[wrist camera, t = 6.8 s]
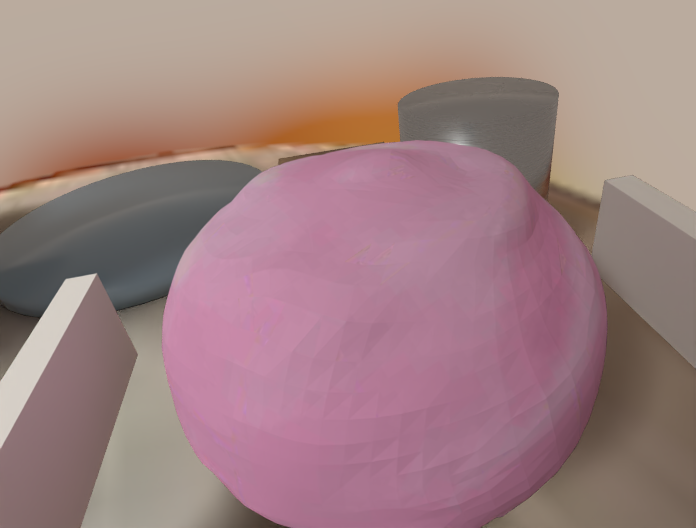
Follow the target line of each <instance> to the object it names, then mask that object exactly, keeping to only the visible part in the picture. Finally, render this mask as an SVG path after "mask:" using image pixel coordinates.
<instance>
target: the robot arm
mask: <svg viewBox="0 0 696 528" xmlns="http://www.w3.org/2000/svg"><path fill="white" fill-rule="evenodd" d="M592 258H593V260H594V262H595V264H596V266H597V269H598V272H599V274H600V277H601V279H602V280H603V281H604V282H605V283H606V284H607V285H608V286H609V287H610V288H611V289H612V290H613V291H615V292H616V293H617V294H618V295H619V296H620V297H621V298H622V299H623V300H624V301H625V302H626V303H627V304H628V305H629V306H630V307H631V308H632V309H633V310H634V311H635V312H637V313H638V314H639V315H640V316H641V317H642V318H643V319H644V320H645V321H646V322H647V323H648V324H649V325H650V326H651V327H652V328H653V329H654V330H655V331H656V332H658V333H659V334H660V335H661V336H662V337H663V338H664V339H665V340H666V341H667V342H668V343H669V344H670V345H671V346H672V347H673V348H674V349H675V350H676V351H677V352H678V353H680V354H681V355H682V356H683V357H684V358H685V359H686V360H687V361H688V362H689V363H690V364H691V365H692V366H693V367H694V368H695V369H696V212H695V211H693V210H691V209H690V208H688V207H687V206H685V205H683V204H681V203H680V202H678V201H676V200H674V199H673V198H671V197H669V196H668V195H666V194H664V193H663V192H661V191H659V190H658V189H656V188H654V187H652V186H651V185H649V184H647V183H646V182H643V181H642V180H641V179H639V178H637V177H635V176H634V175H630V176H624V177H619V178H614V179H609V180H605V181H604V187H603V193H602V198H601V204H600V210H599V216H598V221H597V227H596V233H595V238H594V244H593V250H592ZM137 356H138V354H137V352H136V350H135V348H134V346H133V344H132V342H131V340H130V338H129V336H128V334H127V332H126V330H125V328H124V326H123V324H122V322H121V320H120V318H119V316H118V314H117V312H116V310H115V308H114V306H113V304H112V302H111V300H110V298H109V296H108V294H107V292H106V290H105V288H104V286H103V284H102V282H101V280H100V278H99V276H98V274H97V273H96V274H91V275H85V276H80V277H75V278H69V279H65V281H64V283H63V284H62V286H61V287H60V289H59V290H58V292H57V294H56V295H55V297H54V298H53V300H52V301H51V303H50V305H49V306H48V308H47V309H46V311H45V312H44V314H43V316H42V317H41V319H40V320H39V322H38V323H37V325H36V326H35V328H34V330H33V331H32V333H31V334H30V336H29V337H28V339H27V341H26V342H25V344H24V345H23V347H22V348H21V350H20V352H19V353H18V355H17V356H16V358H15V359H14V361H13V363H12V364H11V366H10V367H9V369H8V370H7V372H6V374H5V375H4V377H3V378H2V380H1V381H0V528H80V527H81V524H82V521H83V518H84V515H85V512H86V509H87V506H88V503H89V500H90V497H91V494H92V491H93V488H94V485H95V482H96V479H97V476H98V473H99V470H100V467H101V464H102V461H103V458H104V455H105V452H106V449H107V446H108V443H109V440H110V437H111V434H112V431H113V428H114V425H115V422H116V419H117V416H118V413H119V410H120V407H121V404H122V401H123V398H124V395H125V392H126V389H127V386H128V383H129V380H130V377H131V374H132V371H133V368H134V365H135V362H136V359H137Z"/></svg>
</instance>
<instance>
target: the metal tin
mask: <svg viewBox="0 0 696 528" xmlns="http://www.w3.org/2000/svg"><path fill="white" fill-rule="evenodd" d="M558 97H559V93H558V91H557V89H556V88H555V87H553V86H551V85H549V84H547V83H544V82H540V81H536V80H531V79H523V78H509V77H486V78H471V79H462V80H455V81H449V82H444V83H439V84H435V85H431V86H427V87H424V88H421V89H419V90H416V91H413V92H411V93H409V94H408V95H406V96H404V97H403V98H402V99H401V100H400V101H399V103H398V115H399V127H400V128H399V129H400V142H403V141H414V140H423V141H438V142H447V143H454V144H459V145H464V146H471V147H478V148H481V149H485V150H488V151H490V152H492V153H494V154H497V155H499V156H501V157H503V158H504V159H506V160H507V161H509V162H510V163H512V164H513V165H514V166H515V167H516V168H517V169H518V170H519V171H520V172H521V173H522V175H523V176H524V177H525V179H526V180H527V181H528V182H529V184H530V185H531V186H532V188H533V189H534V190H535V191H536V192H537V193H538V194H539V195H540V196H541V197H543V198H544V199H545V200H546V201H547V200H548V190H549V181H550V172H551V162H552V153H553V143H554V134H555V124H556V115H557V106H558Z"/></svg>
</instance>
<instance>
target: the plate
mask: <svg viewBox="0 0 696 528" xmlns="http://www.w3.org/2000/svg"><path fill="white" fill-rule="evenodd" d="M260 173H262V171H260V170H259V169H257V168H254V167H252V166H250V165H246V164H243V163H238V162H232V161H222V160H196V161H184V162H176V163H168V164H162V165H157V166H151V167H147V168H142V169H138V170H134V171H130V172H126V173H123V174H119V175H116V176H112V177H109V178H106V179H103V180H100V181H97V182H94V183H91V184H89V185H86V186H84V187H81V188H78V189H76V190H74V191H71V192H69V193H67V194H64V195H62V196H60V197H58V198H56V199H54V200H52V201H50V202H48V203H46V204H44V205H42V206H40V207H39V208H37V209H35V210H33V211H31V212H30V213H28V214H27V215H25V216H24V217H22V218H20V219H19V220H18V221H16V222H15V223H13V224H12V225H11V226H9V227H8V228H7V229H6V230H4V231H3V232H2V233H1V234H0V305H2V306H3V307H5V308H7V309H8V310H11V311H13V312H16V313H19V314H23V315H28V316H33V317H42V316H43V314H44V312H45V311H46V309H47V308H48V306H49V305H50V303H51V301H52V300H53V298H54V297H55V295H56V294H57V292H58V290H59V289H60V287H61V286H62V284H63V283H64V281H65V279H69V278H75V277H80V276H85V275H91V274H96V273H97V274H98V276H99V278H100V280H101V282H102V284H103V286H104V288H105V290H106V292H107V294H108V296H109V298H110V300H111V302H112V304H113V306H114V308H115V310H120V309H124V308H128V307H131V306H135V305H139V304H142V303H146V302H149V301H151V300H154V299H157V298H160V297H163V296H166V295H168V294H169V290H170V287H171V284H172V280H173V278H174V275H175V272H176V269H177V266H178V264H179V262H180V259H181V257H182V255H183V253H184V251H185V250H186V248H187V247H188V246H189V245H190V243H191V242H192V241H193V240H194V239H195V237H196V236H197V235H198V233H199V232H200V231H201V229H202V228H203V227H204V226H205V225H206V224H207V223H208V222H209V221H210V220H211V219H212V217H213V216H214V215H215V214H216V213H217V212H218V211H219V210H220V209H222V208H223V207H225V206H226V205H227V204H229V203H230V202H232V200H233V199H234V198H235V197H236V196H237V194H238V193H239V192H240V191H241V190H242V189H243V188H244V187H245V186H246V185H247V184H248V183H249V182H250V181H251V180H252V179H253V178H255V177H256V176H257V175H258V174H260Z"/></svg>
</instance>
